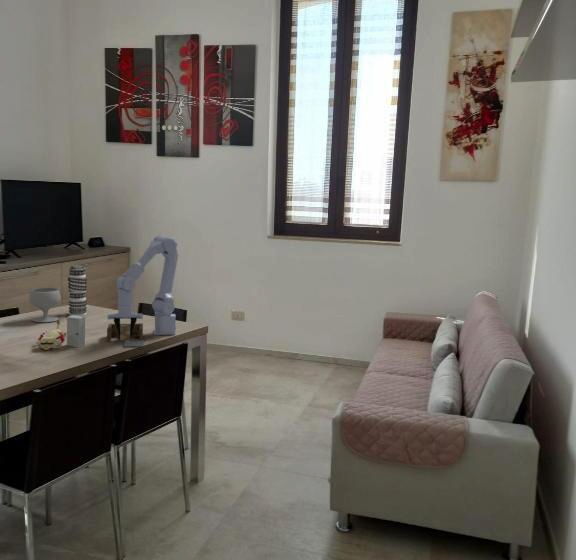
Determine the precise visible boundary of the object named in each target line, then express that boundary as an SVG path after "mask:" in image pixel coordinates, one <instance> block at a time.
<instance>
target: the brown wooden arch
mask: <svg viewBox="0 0 576 560" xmlns="http://www.w3.org/2000/svg"><path fill="white" fill-rule="evenodd" d="M121 325H130V329H131V323H120V326H121ZM143 336H144V323H141V322H140V323H139V322H138V323H137V322H136V323H135V325H134V328H133V331H132V335H130V337H139V340H138V341H143V339H144V338H143ZM114 337H118V338H119V337H120V336H119V333H118V330H117V327H116V325H115V323H109V324H108V326H107V329H106V342H107V343H111V340H112V338H114Z"/></svg>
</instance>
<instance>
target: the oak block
mask: <svg viewBox="0 0 576 560" xmlns="http://www.w3.org/2000/svg"><path fill="white" fill-rule="evenodd" d="M119 337H120V339H119V340H120V341H121V342H123V341H124V342H125V341H126V340H130V341H131V336H130V325H121V326H120V336H119Z"/></svg>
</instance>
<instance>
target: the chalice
mask: <svg viewBox="0 0 576 560" xmlns="http://www.w3.org/2000/svg"><path fill="white" fill-rule="evenodd" d="M61 298H62V297H61V293H60V290H59V289H58V288H56V287H37V288H33V289H31V291H30V293H29V297H28V300H29V301H28V302H29V303H30V304H31V305H32V306H34V307H36V308H38V309H40V310H41V311H42V312H43V315H42V316H38V317H33V318H32V319H31V321H32V322H33V323H52V322H57V319H60V318H59V316H58V317H57V316H51V315H49V314H48V313H49V310H51V309H52V308H54V307H55V306H57V305H59V304H60V302H61V301H62V299H61Z"/></svg>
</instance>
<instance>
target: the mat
mask: <svg viewBox="0 0 576 560" xmlns="http://www.w3.org/2000/svg"><path fill="white" fill-rule="evenodd" d="M144 347H145V340H142V341H139V340H130V341H124V343H123V348H126V349H127V348H144Z"/></svg>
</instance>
